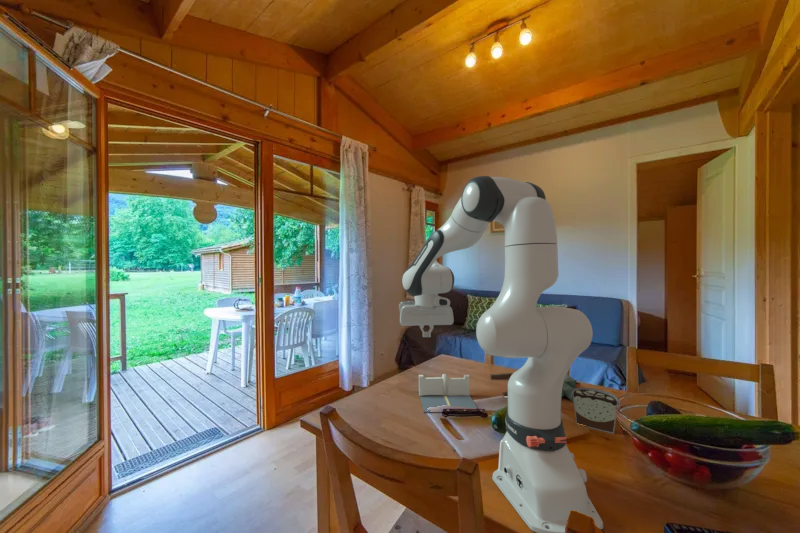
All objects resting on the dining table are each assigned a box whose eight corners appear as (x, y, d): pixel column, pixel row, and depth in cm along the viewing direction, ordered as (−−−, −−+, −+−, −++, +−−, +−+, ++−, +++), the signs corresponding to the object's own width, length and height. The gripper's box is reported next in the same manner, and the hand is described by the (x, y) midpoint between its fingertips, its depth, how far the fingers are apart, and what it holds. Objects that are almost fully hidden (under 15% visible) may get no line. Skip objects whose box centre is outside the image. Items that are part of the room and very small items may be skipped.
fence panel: (446, 393, 116) (446, 373, 115) (447, 395, 114) (447, 375, 114) (418, 393, 115) (418, 374, 115) (419, 396, 113) (419, 376, 113)
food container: (620, 425, 93) (620, 392, 93) (620, 435, 88) (620, 400, 88) (572, 414, 100) (572, 383, 100) (570, 423, 95) (570, 390, 95)
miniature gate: (487, 367, 136) (557, 361, 135) (488, 379, 136) (558, 374, 135) (507, 393, 109) (594, 386, 108) (508, 409, 109) (595, 402, 108)
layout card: (478, 411, 103) (478, 409, 103) (423, 413, 102) (423, 411, 102) (463, 387, 123) (463, 385, 123) (418, 388, 122) (418, 386, 122)
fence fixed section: (468, 393, 116) (468, 374, 116) (469, 395, 114) (469, 376, 114) (447, 394, 115) (447, 375, 115) (448, 395, 114) (448, 376, 114)
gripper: (398, 301, 114) (399, 339, 114) (454, 300, 115) (454, 338, 115) (398, 299, 121) (398, 335, 121) (451, 298, 121) (451, 334, 121)
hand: (426, 336), depth 118 cm, fingers closed
